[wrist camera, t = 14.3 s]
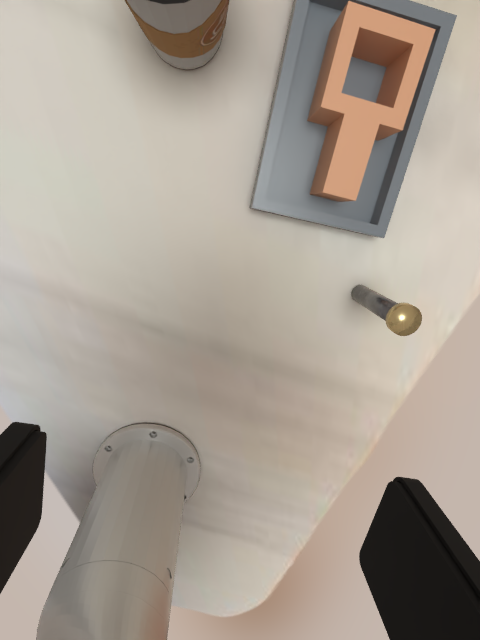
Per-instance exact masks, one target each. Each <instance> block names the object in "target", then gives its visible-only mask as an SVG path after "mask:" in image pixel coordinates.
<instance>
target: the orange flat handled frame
mask: <svg viewBox="0 0 480 640" xmlns="http://www.w3.org/2000/svg"><path fill="white" fill-rule="evenodd" d="M435 30H436V29H433V28H430V27H427V26H424V25H421V24H418V23H415V22H412V21H409V20H406V19H403V18H400V17H397V16H394V15H391V14H388V13H385V12H382V11H378V10H375V9H372V8H369V7H366V6H363V5H360V4H357V3H354V2H351V1H348V2H347V4H346V6H345V7H344V9H343V11H342V12H341V14H340V15H339V17H338V19H337V20H336V22H335V23H334V25H333V27H332V28H331V30H330V33H329V37H328V40H327V44H326V48H325V52H324V56H323V60H322V64H321V68H320V72H319V76H318V80H317V84H316V88H315V92H314V95H313V99H312V103H311V107H310V111H309V115H308V119H307V121H310V122H313V123H317V124H320V125H324V126H327V127H328V128H327V132H326V135H325V139H324V143H323V146H322V150H321V154H320V157H319V161H318V165H317V168H316V172H315V176H314V179H313V183H312V187H311V191H310V195H314V196H318V197H321V198H325V199H329V200H333V201H337V202H344V201H356V199H357V196H358V192H359V189H360V186H361V183H362V179H363V176H364V173H365V170H366V166H367V163H368V160H369V157H370V154H371V150H372V147H373V144H374V141H375V140H377V141H379V140H381V139H384V138H386V137H388V136H391V135H393V134H395V133H398V132H400V131H402V130H403V127H404V124H405V121H406V118H407V115H408V112H409V109H410V106H411V103H412V100H413V97H414V94H415V91H416V88H417V85H418V82H419V79H420V75H421V72H422V69H423V66H424V63H425V60H426V57H427V54H428V51H429V48H430V45H431V42H432V39H433V36H434V33H435ZM351 56H352V57H355V58H358V59H361V60H365V61H368V62H371V63H374V64H378V65H381V66H384V67H386V71H385V74H384V77H383V80H382V84H381V87H380V90H379V94H378V97H377V100H376V103H374V102H370V101H367V100H364V99H360V98H357V97H353V96H350V95H347V94H343V93H342V89H343V85H344V82H345V78H346V74H347V71H348V67H349V63H350V60H351Z"/></svg>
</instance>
